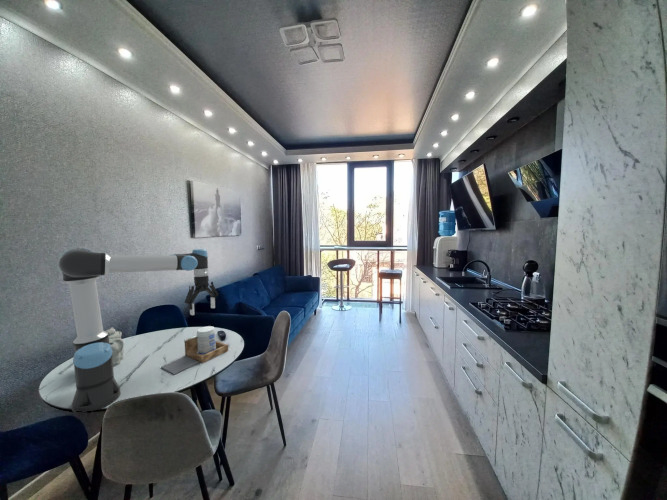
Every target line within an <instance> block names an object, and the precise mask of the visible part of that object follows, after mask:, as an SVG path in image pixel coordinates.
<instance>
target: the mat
mask: <svg viewBox="0 0 667 500" xmlns="http://www.w3.org/2000/svg"><path fill="white" fill-rule="evenodd" d="M198 364H200V362H199V361H196V360H194V359H192V358H189V357H187V356H183V357H181V358H178V359H176V360H174V361H172V362H171V361H170V362H169V363H167V364H165V365H162V366H160V368H161V369H162V370H163V371H164V370H165V371H166V372H168V373H170V374H172V375H173V376H174V375H177V374H179V373H182V372H184V371H186V370H188V369H190V368H192V367H194V366H197V365H198Z"/></svg>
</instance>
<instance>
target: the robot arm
mask: <svg viewBox="0 0 667 500" xmlns="http://www.w3.org/2000/svg"><path fill="white" fill-rule="evenodd" d="M208 257H209V256H208V251H207V249H206V248H199V249H198V248H197V249H195V248H194V249H192V252H189V253H174V254H169V255H167V254H166V255H162V254H161V255H159V254H158V255H157V254H155V255H154V254H153V255H152V254H149V255H148V254H146V255H145V254H143V255H142V254H141V255H135V254H134V255H132V254H131V255H129V254H128V255H126V254H125V255H124V254H123V255H122V254H121V255H120V254H119V255H118V254H117V255H115V254H113V255H111V254H108V253H107V252H94V251H92V250H90V249H86V248H79V247H78V248H72V249H69V250H68V251H66V252H64V254H62V255H61V257H60V259H59V261H58V267H59V269H60V271H61V274H62V279H63V282H64V283H66V284H68V286H69V292H70V293H69V294H70V297H71V298H70V299H71V303H72V304H71V305H72V311H73V317H74V325H75V331H76V338H75V339H74V340H73V341H72V343H73V349H74V354H73V359H72V364H73V368H74V377H75V389H76V390H75V393H74V396H73V399H72V402H71V411H72V412H73V413H75V414H86V413H88V412H87V411H91V412H95V411H97V410H100V409H102V408H105V407H106V406H109V405H110V404H112V403H113V402H114V401H115V402H116V400H117V399H118V398H119V397H120V396H121V387H120V385H119V384H118V382H117V380H116V379H115V375H114V374H115V373H114V372H115V371H114V366H113V360H112V348H111V345H110V343H109V336H108V332H106V330H104V326H103V320H102V313H101V312H102V311H101V307H100V301H99V300H100V299H99V292H98V286H97V280H98V279H99V278H100V277H101V276H106V275H108V274H110V273H111V274H112V273H134V272H135V273H136V272H138V273H139V272H140V273H141V272H163V271H167V272H168V271H186V272H187V271H188V272H189V271H193V282H194V283H193V284H194V285H189V289H188V292H187V295H186V297H185V299H184V304H186V305H188V310H189V314H190V315H191V316H195V303H194V301H195V300H196V298H197V297H198V295H199V294H200V293H202V292H206V293H207V294H208V295H209V296H210V309H215V308H216V302H217V301H216V300H217V299H216V298H217V297H218V296H219V292H218V291H217V289H216V287H215V286H214V282H213V281H209V278H210V276H209V265H208V264H209V262H208V260H209V259H208ZM76 411H82V412H76Z"/></svg>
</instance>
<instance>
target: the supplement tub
mask: <svg viewBox="0 0 667 500" xmlns="http://www.w3.org/2000/svg"><path fill="white" fill-rule="evenodd" d="M196 335H197V343H198V352H197V353H198V354H201V355H205V354H207V353H209V352H211V351H213V350H216V349H217V348H216V341H217V340H216V329H215V327H214V326H211V325H208V326H203V327H200V328H198V329H197V330H196Z"/></svg>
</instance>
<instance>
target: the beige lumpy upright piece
mask: <svg viewBox="0 0 667 500" xmlns="http://www.w3.org/2000/svg"><path fill="white" fill-rule="evenodd" d="M105 331H106V332H108V336H109V343H110V345H111V348H112V360H113V367H116V366H117V365H119V364H121V360H123V359H124V345H125V344H124V340H123V339H122V335H123V333H122V331H118V330H116V329H115V328H114V327H110V328H108V329H106V330H105Z"/></svg>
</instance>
